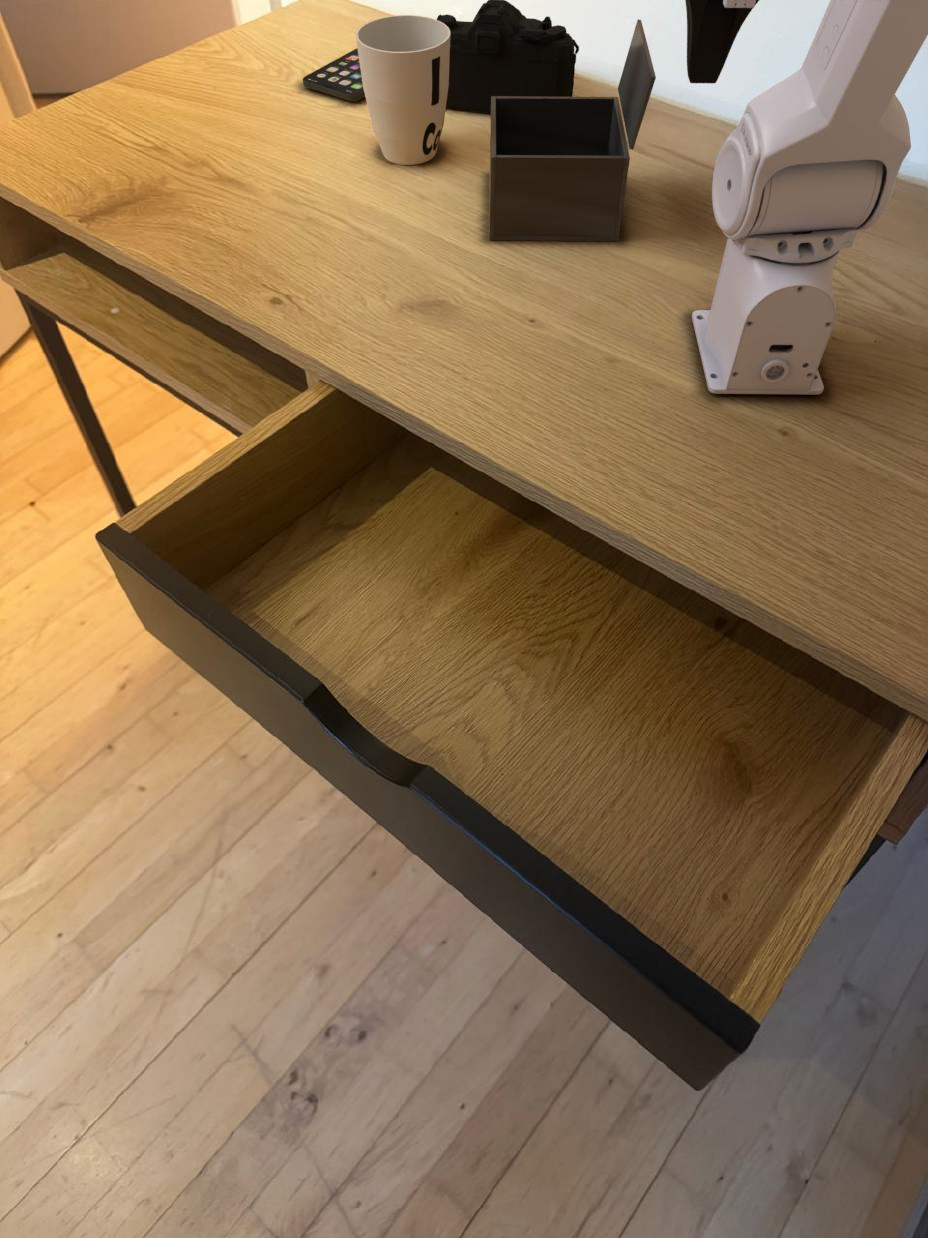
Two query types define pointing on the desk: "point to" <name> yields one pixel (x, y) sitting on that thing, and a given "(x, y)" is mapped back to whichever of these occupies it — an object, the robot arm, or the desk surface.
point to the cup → (405, 83)
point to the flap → (636, 84)
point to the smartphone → (339, 78)
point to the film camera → (507, 57)
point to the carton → (556, 168)
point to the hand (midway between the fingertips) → (701, 79)
